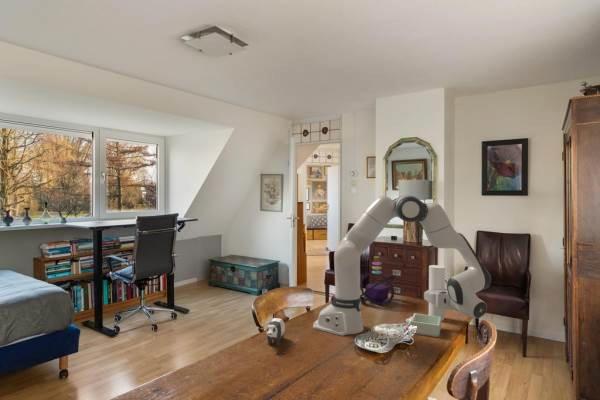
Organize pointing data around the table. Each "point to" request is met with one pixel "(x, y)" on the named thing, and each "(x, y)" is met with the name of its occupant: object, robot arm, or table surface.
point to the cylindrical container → (436, 288)
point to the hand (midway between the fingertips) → (435, 291)
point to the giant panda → (275, 331)
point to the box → (426, 324)
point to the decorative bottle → (377, 287)
